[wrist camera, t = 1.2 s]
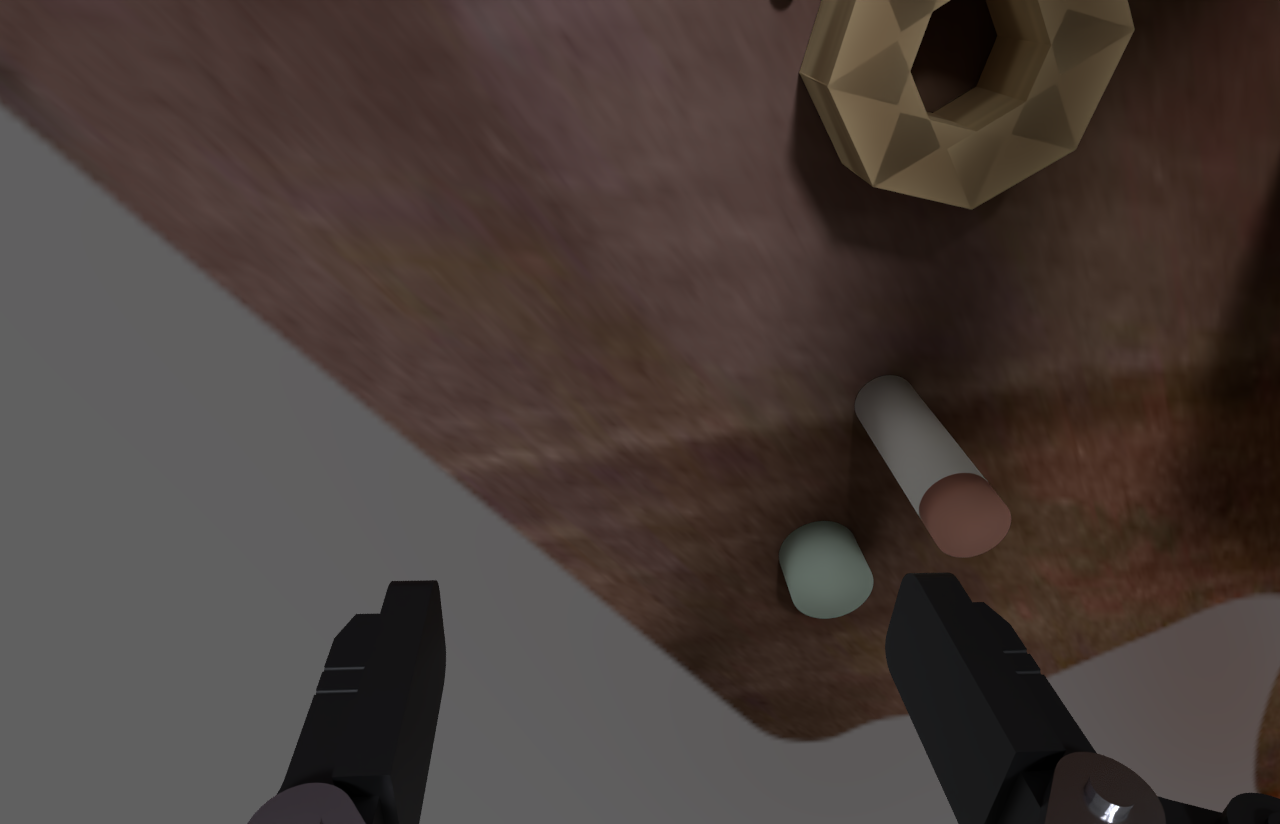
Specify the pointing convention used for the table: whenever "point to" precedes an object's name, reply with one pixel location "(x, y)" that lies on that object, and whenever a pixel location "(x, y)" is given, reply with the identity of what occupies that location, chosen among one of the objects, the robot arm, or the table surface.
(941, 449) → the grey cylinder
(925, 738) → the robot arm
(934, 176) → the bead
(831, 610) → the bead
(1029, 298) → the table surface
